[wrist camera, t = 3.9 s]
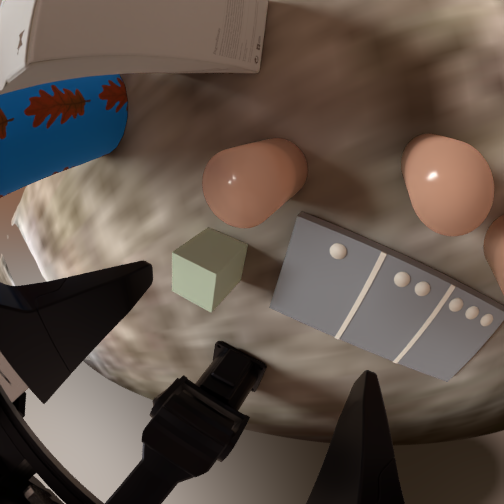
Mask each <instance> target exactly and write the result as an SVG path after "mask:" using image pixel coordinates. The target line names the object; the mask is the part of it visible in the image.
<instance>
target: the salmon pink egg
mask: <svg viewBox="0 0 504 504" xmlns="http://www.w3.org/2000/svg"><path fill="white" fill-rule="evenodd" d="M401 171H402V175H403V178H404V181H405V184H406V187H407V190H408V193H409V196H410V199H411V203H412V206H413V208H414V210H415V212H416V214H417V216H418V217H419V218H420V220H421V221H422V222H423V223H424V224H425V225H426V226H427V227H428V228H430V229H431V230H433V231H434V232H437V233H439V234H442V235H446V236H460V235H464V234H467V233H469V232H471V231H473V230H474V229H476V228H477V227H478V226H479V225H481V223H482V222H483V221H484V220H485V218H486V217H487V215H488V213H489V212H490V209H491V206H492V203H493V199H494V180H493V176H492V173H491V170H490V167H489V165H488V163H487V162H486V160H485V159H484V157H483V156H482V155H481V154H480V152H478V151H477V150H476V149H475V148H474V147H472V146H471V145H469V144H467V143H465V142H462V141H459V140H455V139H452V138H448V137H445V136H441V135H437V134H431V133H428V134H422V135H419V136H417V137H415V138H413V139H412V140H411V141H410V142H409V143H408V144H407V146H406V147H405V149H404V151H403V154H402V158H401Z"/></svg>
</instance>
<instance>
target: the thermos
mask: <svg viewBox="0 0 504 504" xmlns="http://www.w3.org/2000/svg"><path fill="white" fill-rule="evenodd" d="M127 111H128V100H127V94H126V89H125V85H124V83H123V81H122V79H121V77H120V75H119V74H113V75H100V76H89V77H81V78H74V79H68V80H61V81H56V82H50V83H45V84H40V85H36V86H32V87H28V88H24V89H20V90H16V91H12V92H8V93H5V94H1V95H0V198H1V197H3V196H5V195H7V194H9V193H11V192H13V191H16V190H18V189H20V188H22V187H24V186H27V185H29V184H31V183H34V182H36V181H38V180H41V179H43V178H46V177H48V176H51V175H53V174H56V173H59V172H61V171H64V170H67V169H69V168H72V167H75V166H78V165H81V164H83V163H86V162H88V161H91V160H93V159H96V158H99V157H101V156H104V155H106V154H109V153H110V152H111V151H113V150H114V149H115V148H116V147H117V146H118V144H119V142H120V140H121V138H122V136H123V134H124V130H125V126H126V122H127Z"/></svg>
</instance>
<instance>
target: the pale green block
mask: <svg viewBox="0 0 504 504" xmlns="http://www.w3.org/2000/svg"><path fill="white" fill-rule="evenodd" d="M247 248H248V244H246V243H244V242H241V241H239V240H237V239H234V238H232V237H230V236H227V235H225V234H223V233H220V232H218V231H216V230H213V229H211V228H209V227H208V228H207V229H205V230H204V231H202V232H201V233H199V234H198V235H196V236H195V237H193V238H192V239H190V240H189V241H188V242H186V243H185V244H183V245H182V246H180V247H179V248H178V249H176V250H175V251H173V252H172V291H173V292H175V293H177V294H178V295H180V296H182V297H184V298H185V299H187V300H189V301H191V302H193V303H194V304H196V305H198V306H200V307H202V308H204V309H205V310H207V311H209V312H211V313H212V312H213V311H214V309H215V308H216V307H217V306H218V305H219V304H220V303H221V302H222V301H223V300H224V298H225V297H226V296H227V295H228V294H229V293H230V292H231V291H232V290H233V288H234V287H235V286H236V285H237V284H238V283H239V282H240V281H241V276H242V271H243V267H244V262H245V257H246V252H247Z"/></svg>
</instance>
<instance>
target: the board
mask: <svg viewBox="0 0 504 504" xmlns="http://www.w3.org/2000/svg"><path fill="white" fill-rule="evenodd" d="M269 308H271V309H273V310H275V311H278V312H280V313H282V314H284V315H286V316H288V317H291V318H293V319H295V320H297V321H299V322H302V323H304V324H306V325H308V326H311V327H313V328H315V329H317V330H320V331H322V332H324V333H326V334H329V335H331V336H333V337H335V338H336V339H338V340H339V339H340V340H343V341H345V342H347V343H350V344H352V345H354V346H357V347H359V348H362V349H364V350H366V351H369V352H371V353H374V354H376V355H379V356H381V357H384V358H386V359H388V360H391V361H393V362H394V363H396V364H397V363H399V364H401V365H404V366H406V367H409V368H411V369H414V370H417V371H419V372H422V373H425V374H427V375H430V376H433V377H435V378H438V379H441V380H444V381H446V382H448V381H449V380H450V379H451V378H452V377H453V376H454V375H455V374H456V373H457V372H458V371H459V370H460V369H461V368H462V367H463V366H464V365H465V364H466V363H467V362H468V361H469V360H470V359H471V358H472V357H473V356H474V355H475V354H476V352H477V351H478V350H479V349H480V348H481V347H482V346H483V345H484V344H485V342H486V341H487V340H488V339H489V338H490V337H491V335H492V334H493V333H494V332H495V330H496V329H497V328H498V327H499V326H500V324H501V323H502V322H503V320H504V306H503V305H501V304H499V303H498V302H496V301H494V300H492V299H490V298H489V297H487V296H485V295H483V294H481V293H479V292H478V291H476V290H474V289H472V288H470V287H468V286H466V285H464V284H462V283H460V282H458V281H456V280H455V279H453V278H451V277H449V276H447V275H445V274H443V273H441V272H439V271H437V270H435V269H432V268H430V267H428V266H426V265H424V264H422V263H420V262H418V261H416V260H414V259H412V258H409V257H407V256H405V255H403V254H401V253H399V252H396V251H394V250H392V249H390V248H388V247H385V246H383V245H381V244H379V243H376V242H374V241H372V240H370V239H367V238H365V237H363V236H360V235H358V234H356V233H353V232H351V231H349V230H346V229H344V228H341V227H339V226H337V225H334V224H332V223H329V222H327V221H324V220H322V219H319V218H317V217H314V216H312V215H309V214H307V213H304V212H302V211H301V213H300V214H299V215H298V216H297V219H296V223H295V226H294V229H293V233H292V236H291V239H290V243H289V246H288V249H287V253H286V256H285V259H284V262H283V266H282V269H281V272H280V275H279V279H278V282H277V285H276V288H275V291H274V294H273V297H272V301H271V304H270V307H269Z"/></svg>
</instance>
